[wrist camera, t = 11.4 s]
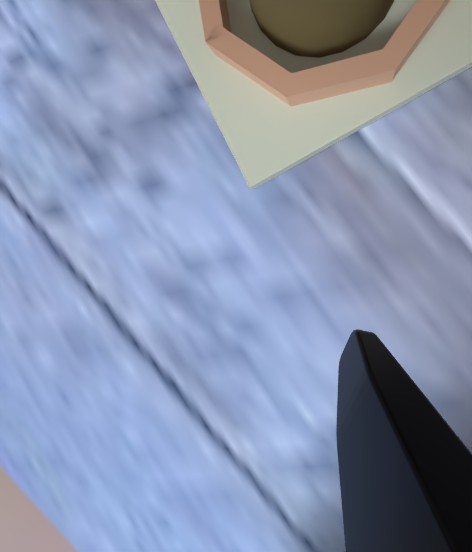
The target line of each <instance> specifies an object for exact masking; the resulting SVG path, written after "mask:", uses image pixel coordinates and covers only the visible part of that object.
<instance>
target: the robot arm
mask: <svg viewBox="0 0 472 552" xmlns="http://www.w3.org/2000/svg"><path fill="white" fill-rule="evenodd" d="M337 450H338V463H339V475H340V487H341V499H342V511H343V523H344V535H345V547H346V552H472V454H471V452H470V451H469V450H468V449H467V447H466V446H465V445H464V444H463V442H462V441H461V440H460V439H459V437H458V436H457V435H456V434H455V432H454V431H453V430H452V429H451V428H450V426H449V425H448V424H447V423H446V421H445V420H444V419H443V418H442V416H441V415H440V414H439V413H438V411H437V410H436V409H435V408H434V406H433V405H432V404H431V403H430V401H429V400H428V399H427V398H426V396H425V395H424V394H423V393H422V391H421V390H420V389H419V388H418V386H417V385H416V384H415V383H414V381H413V380H412V379H411V378H410V376H409V375H408V374H407V373H406V371H405V370H404V369H403V368H402V367H401V365H400V364H399V363H398V362H397V360H396V359H395V358H394V357H393V355H392V354H391V353H390V352H389V350H388V349H387V348H386V347H385V345H384V344H383V343H382V342H381V340H380V339H379V338H378V337H377V336H376V335H375V334H374V333H372V332H368V331H363V330H354V331H353V332H352V333H351V335H350V337H349V340H348V342H347V344H346V346H345V348H344V351H343V353H342V355H341V358H340V362H339V375H338V402H337Z"/></svg>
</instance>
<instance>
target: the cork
mask: <svg viewBox="0 0 472 552" xmlns="http://www.w3.org/2000/svg"><path fill="white" fill-rule="evenodd" d="M249 1H250V7H251V11H252V13H253V15H254V17H255V19H256V21H257V24H258V26H259V28H260V30H261V31H262V32H263V33H264V34H265V35H266V36H267V37H268V38H269V39H270V40H271V41H272V43H273V44H274V45H275V46H277V47H279V48H281V49H283V50H285V51H287V52H289V53H292V54H294V55H296V56H305V57H316V58H320V57H324V56H328V55H333V54H337V53H341V52H344V51H346V50H347V49H349V48H351V47H352V46H354V45H356V44H357V43H359V42H361V41H363V40H364V39H366V38H367V37H368V36H369V35H370V34H371V32H372V31H373V30H374V29H375V28H376V27H377V26H378V25H379V24H380V23H381V22H382V21H383V20H384V19H385V17H386V15H387V13H388V12H389V10H390V8H391V6H392V4H393V2H394V0H249Z"/></svg>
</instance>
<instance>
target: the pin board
mask: <svg viewBox="0 0 472 552" xmlns="http://www.w3.org/2000/svg"><path fill="white" fill-rule="evenodd" d="M155 1H156V3H157V5H158V7H159V9H160V11H161V13H162V15H163V17H164V19H165V21H166V23H167V25H168V27H169V29H170V31H171V33H172V35H173V37H174V39H175V41H176V43H177V45H178V47H179V49H180V51H181V53H182V55H183V57H184V59H185V61H186V63H187V65H188V67H189V69H190V71H191V73H192V75H193V77H194V78H195V80H196V82H197V84H198V86H199V88H200V90H201V92H202V94H203V96H204V98H205V100H206V102H207V104H208V106H209V108H210V110H211V112H212V114H213V116H214V118H215V120H216V122H217V124H218V126H219V128H220V130H221V132H222V134H223V136H224V138H225V140H226V142H227V144H228V146H229V148H230V150H231V152H232V154H233V156H234V158H235V160H236V162H237V164H238V166H239V168H240V170H241V172H242V174H243V176H244V178H245V180H246V182H247V184H248V186H249V188H252V189H255V188H257V187H259V186H261V185H262V184H264V183H266V182H268V181H270V180H271V179H273V178H275V177H277V176H278V175H280V174H282V173H284V172H286V171H287V170H289V169H291V168H293V167H294V166H296V165H298V164H300V163H302V162H303V161H305V160H307V159H309V158H310V157H312V156H314V155H316V154H318V153H319V152H321V151H323V150H325V149H326V148H328V147H330V146H332V145H334V144H335V143H337V142H339V141H341V140H342V139H344V138H346V137H348V136H350V135H351V134H353V133H355V132H357V131H358V130H360V129H362V128H364V127H366V126H367V125H369V124H371V123H373V122H374V121H376V120H378V119H380V118H382V117H383V116H385V115H387V114H389V113H390V112H392V111H394V110H396V109H398V108H399V107H401V106H403V105H405V104H406V103H408V102H410V101H412V100H414V99H415V98H417V97H419V96H421V95H422V94H424V93H426V92H428V91H429V90H431V89H433V88H435V87H437V86H438V85H440V84H442V83H444V82H445V81H447V80H449V79H451V78H453V77H454V76H456V75H458V74H460V73H461V72H463V71H465V70H467V69H469V68H470V67H472V0H394V2H393V4H392V6H391V8H390V10H389V12H388V13H387V15H386V17H385V19H384V20H383V21H382V22H381V23H380V24H379V25H378V26H377V27H376V28H375V29H374V30H373V31H372V32H371V34H370V35H369V36H368V37H367V38H366V39H364V40H363V41H361V42H359V43H357V44H356V45H354V46H352V47H351V48H349V49H347V50H346V51H344V52H341V53H337V54H333V55H328V56H324V57H320V58H316V57H305V56H296V55H294V54H292V53H289V52H287V51H285V50H283V49H281V48H279V47H277V46H275V45H274V44H273V43H272V41H271V40H270V39H269V38H268V37H267V36H266V35H265V34H264V33H263V32H262V31H261V30H260V28H259V26H258V24H257V21H256V19H255V17H254V15H253V13H252V11H251V7H250V1H249V0H155Z"/></svg>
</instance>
